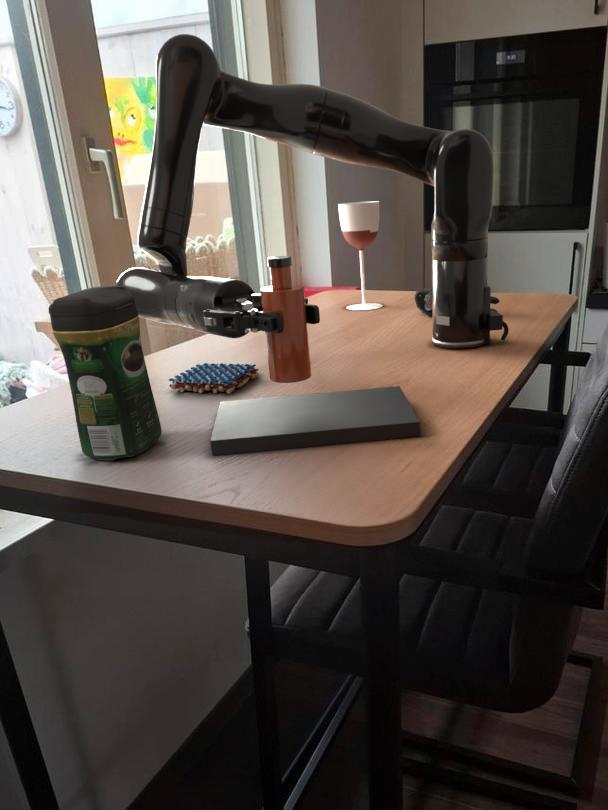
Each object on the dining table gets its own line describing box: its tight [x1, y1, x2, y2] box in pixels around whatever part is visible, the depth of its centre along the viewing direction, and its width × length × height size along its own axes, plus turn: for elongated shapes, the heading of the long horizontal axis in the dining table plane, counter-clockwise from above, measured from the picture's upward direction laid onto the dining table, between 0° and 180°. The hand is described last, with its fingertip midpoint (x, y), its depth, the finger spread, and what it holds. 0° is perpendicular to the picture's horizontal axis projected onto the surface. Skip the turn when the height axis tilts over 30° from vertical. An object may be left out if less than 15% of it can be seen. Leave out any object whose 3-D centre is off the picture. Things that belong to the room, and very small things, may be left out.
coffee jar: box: [48, 285, 163, 461], centre depth 80 cm, size 10×8×19 cm
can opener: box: [414, 288, 501, 317], centre depth 143 cm, size 18×7×6 cm, turn 67°
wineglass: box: [337, 200, 384, 311], centre depth 155 cm, size 9×10×22 cm
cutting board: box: [209, 385, 421, 456], centre depth 87 cm, size 24×15×2 cm, turn 96°
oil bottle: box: [260, 255, 312, 384], centre depth 85 cm, size 5×5×14 cm
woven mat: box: [168, 362, 260, 395], centre depth 107 cm, size 10×11×2 cm
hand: (299, 319), depth 83 cm, fingers closed on oil bottle, 5 cm apart
